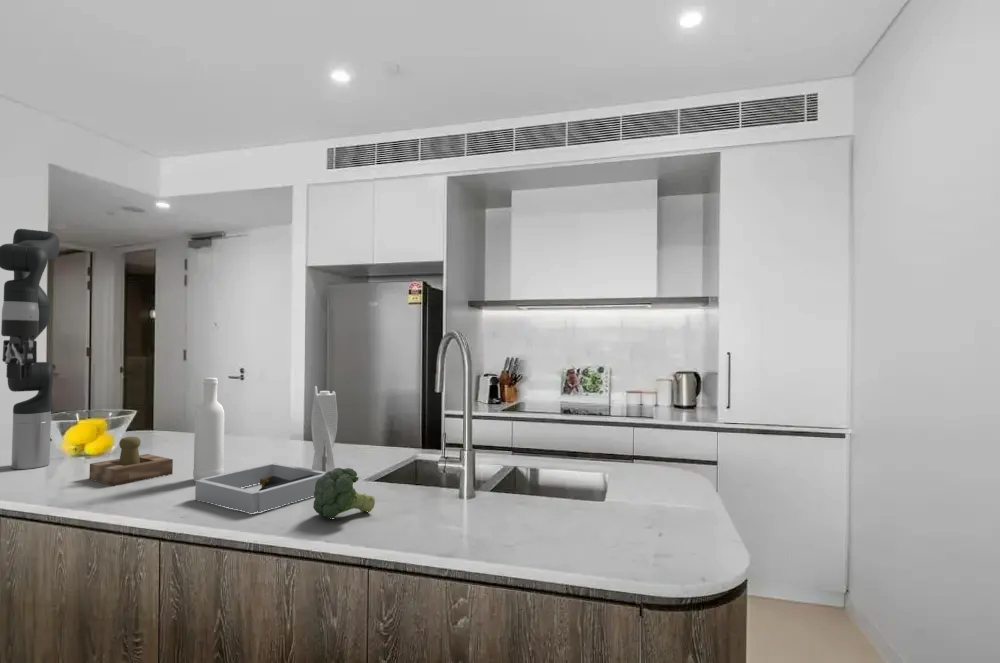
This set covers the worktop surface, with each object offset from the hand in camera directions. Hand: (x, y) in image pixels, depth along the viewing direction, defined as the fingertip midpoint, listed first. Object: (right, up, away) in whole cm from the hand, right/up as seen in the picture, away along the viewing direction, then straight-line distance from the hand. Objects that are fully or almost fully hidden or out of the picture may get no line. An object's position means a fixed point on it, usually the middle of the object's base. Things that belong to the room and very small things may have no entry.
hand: (18, 378), depth 146 cm
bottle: (+44, -31, +13) cm, 56 cm away
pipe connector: (+72, -32, -3) cm, 79 cm away
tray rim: (+68, -31, -2) cm, 74 cm away
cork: (+20, -30, +14) cm, 39 cm away
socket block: (+20, -31, +16) cm, 40 cm away
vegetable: (+93, -31, -18) cm, 100 cm away
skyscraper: (+78, -32, +14) cm, 85 cm away
